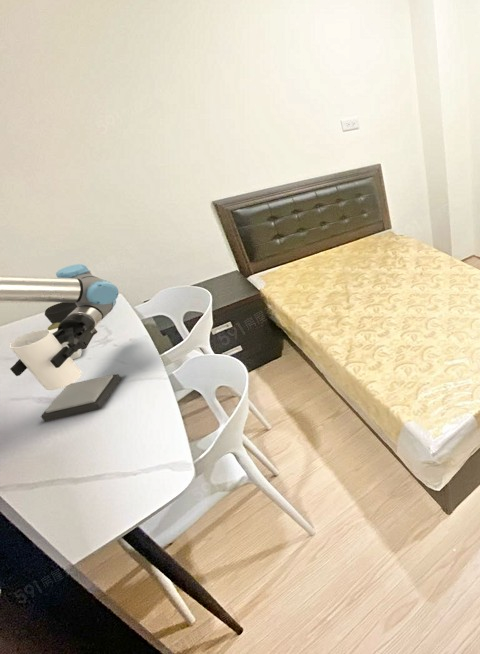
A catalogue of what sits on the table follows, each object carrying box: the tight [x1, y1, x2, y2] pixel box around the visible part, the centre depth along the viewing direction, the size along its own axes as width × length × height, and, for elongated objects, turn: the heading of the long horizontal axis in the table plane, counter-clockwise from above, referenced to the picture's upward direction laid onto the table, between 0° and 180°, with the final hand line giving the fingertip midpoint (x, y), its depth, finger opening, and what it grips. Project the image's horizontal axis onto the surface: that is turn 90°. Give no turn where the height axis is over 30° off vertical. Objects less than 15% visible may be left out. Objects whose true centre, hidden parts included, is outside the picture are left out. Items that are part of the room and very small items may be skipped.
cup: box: [9, 329, 83, 391], centre depth 115 cm, size 8×8×16 cm
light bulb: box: [46, 323, 60, 330], centre depth 150 cm, size 6×6×10 cm
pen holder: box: [44, 302, 77, 325], centre depth 160 cm, size 9×9×10 cm
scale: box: [40, 373, 123, 422], centre depth 126 cm, size 14×14×3 cm
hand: (34, 368), depth 111 cm, fingers closed on cup, 8 cm apart
